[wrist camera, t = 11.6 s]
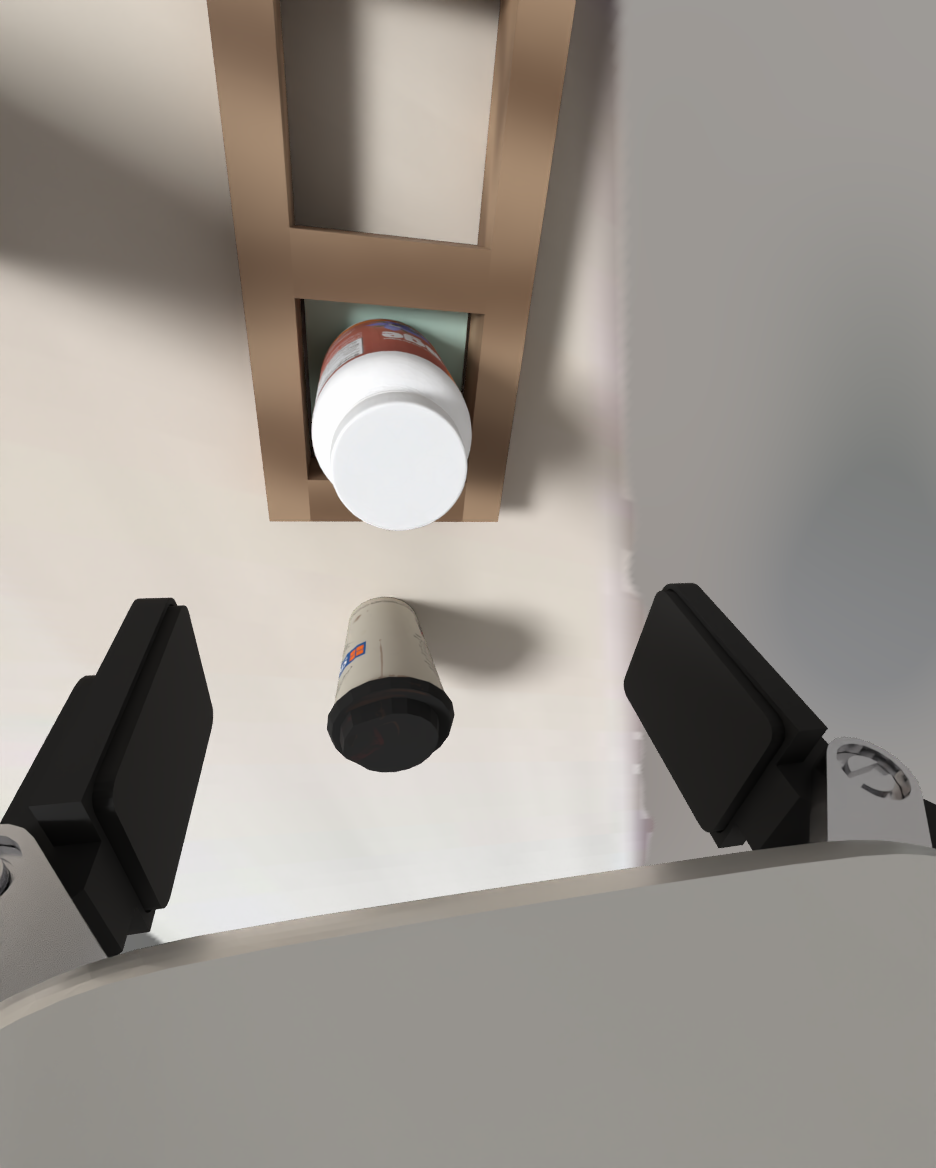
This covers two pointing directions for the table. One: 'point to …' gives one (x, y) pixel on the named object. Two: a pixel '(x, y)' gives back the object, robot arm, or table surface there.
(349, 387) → the pill bottle
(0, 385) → the table surface
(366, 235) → the holder frame
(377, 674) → the coffee cup
